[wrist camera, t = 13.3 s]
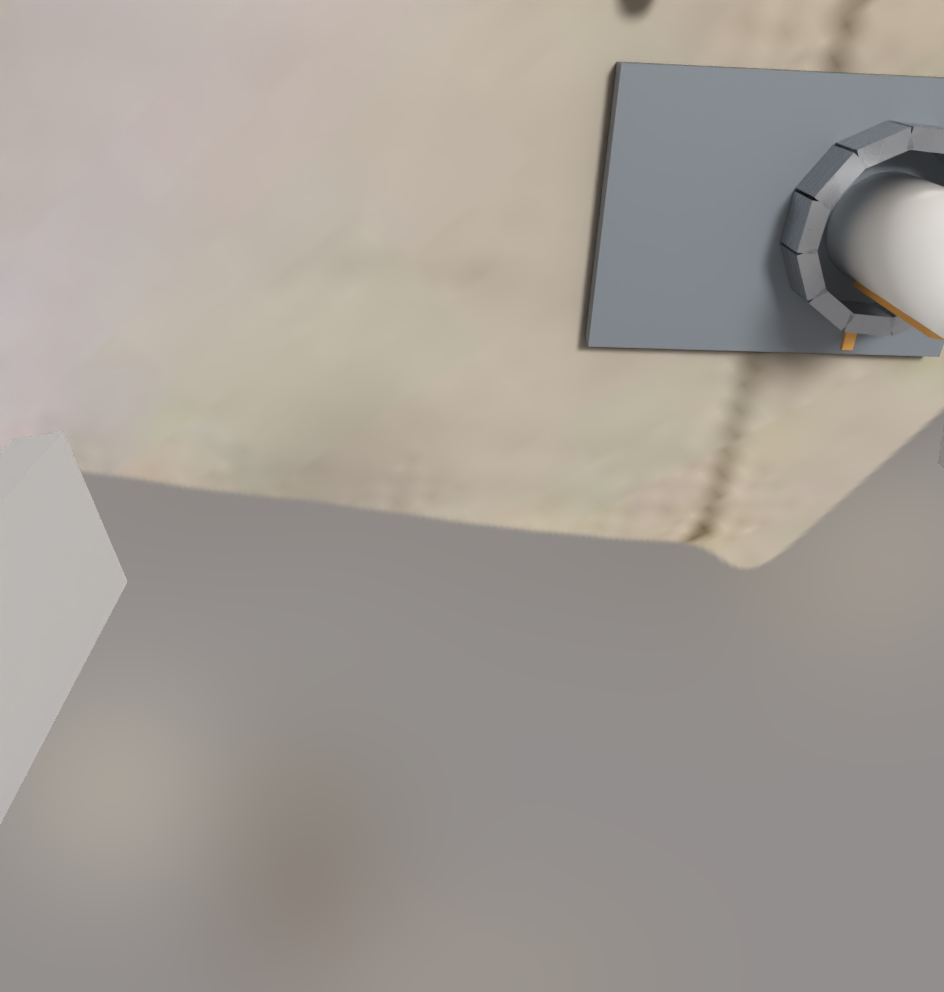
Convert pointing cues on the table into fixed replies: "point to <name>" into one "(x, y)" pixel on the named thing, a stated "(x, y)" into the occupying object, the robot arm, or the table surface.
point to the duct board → (734, 204)
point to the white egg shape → (894, 245)
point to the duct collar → (814, 209)
